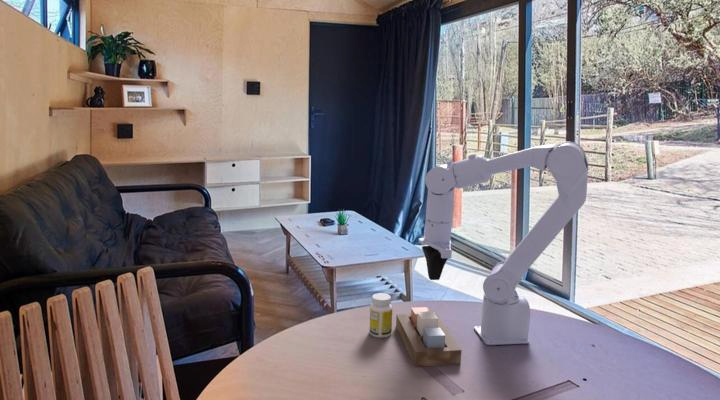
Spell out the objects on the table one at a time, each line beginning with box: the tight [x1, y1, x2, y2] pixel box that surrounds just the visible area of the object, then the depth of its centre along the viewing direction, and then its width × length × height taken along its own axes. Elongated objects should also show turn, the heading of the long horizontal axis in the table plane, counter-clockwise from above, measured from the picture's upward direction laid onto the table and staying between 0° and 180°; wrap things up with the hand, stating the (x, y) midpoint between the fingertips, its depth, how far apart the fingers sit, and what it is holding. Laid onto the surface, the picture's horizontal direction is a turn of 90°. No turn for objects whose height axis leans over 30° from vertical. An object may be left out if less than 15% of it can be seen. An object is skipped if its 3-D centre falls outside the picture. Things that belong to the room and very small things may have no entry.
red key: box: [410, 306, 430, 325], centre depth 112 cm, size 3×3×4 cm
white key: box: [417, 311, 438, 336], centre depth 107 cm, size 3×3×4 cm
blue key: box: [423, 328, 445, 348], centre depth 102 cm, size 3×3×4 cm
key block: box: [395, 312, 462, 368], centre depth 107 cm, size 9×17×3 cm, turn 9°
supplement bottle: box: [369, 292, 393, 338], centre depth 111 cm, size 5×5×8 cm
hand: (434, 278), depth 116 cm, fingers closed
